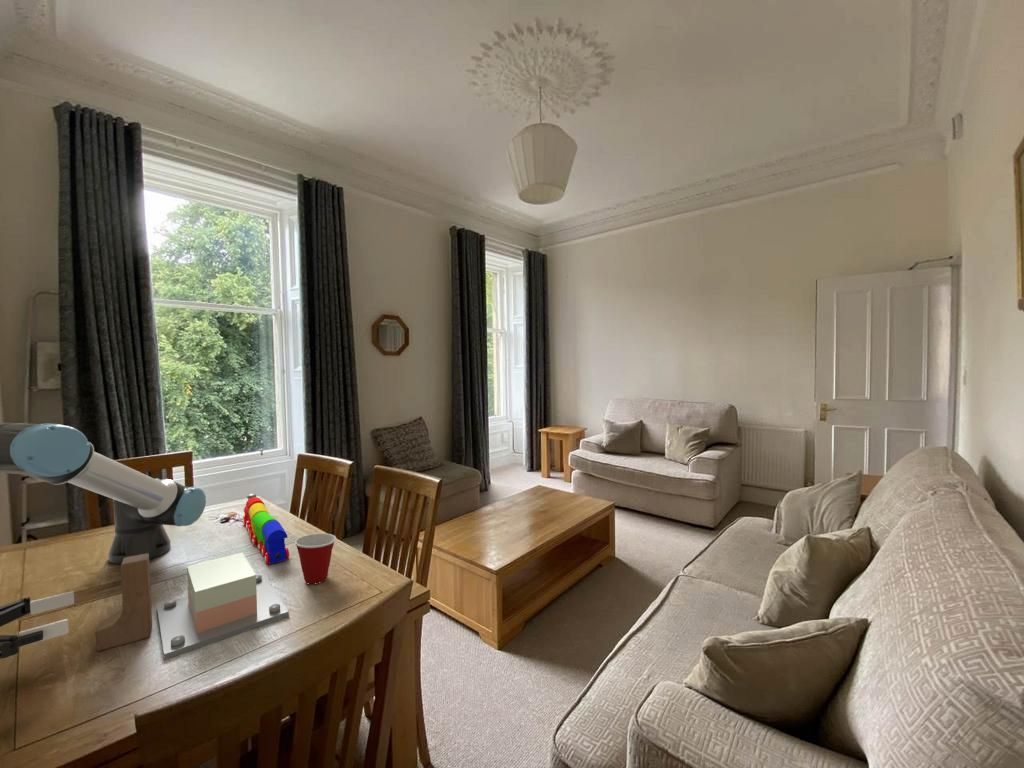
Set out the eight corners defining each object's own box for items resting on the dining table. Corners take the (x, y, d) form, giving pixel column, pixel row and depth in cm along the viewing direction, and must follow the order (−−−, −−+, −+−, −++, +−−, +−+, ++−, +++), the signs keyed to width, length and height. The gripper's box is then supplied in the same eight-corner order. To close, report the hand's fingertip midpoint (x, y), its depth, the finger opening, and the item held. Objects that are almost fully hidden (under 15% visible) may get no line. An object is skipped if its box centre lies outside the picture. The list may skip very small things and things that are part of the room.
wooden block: (96, 652, 95) (91, 570, 93) (100, 641, 98) (96, 562, 97) (150, 637, 100) (146, 559, 99) (152, 627, 103) (149, 552, 102)
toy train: (238, 524, 167) (237, 494, 166) (260, 519, 172) (259, 491, 171) (266, 568, 133) (265, 531, 132) (293, 561, 138) (292, 525, 137)
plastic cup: (345, 575, 129) (344, 534, 128) (314, 593, 119) (313, 549, 118) (318, 567, 133) (317, 528, 132) (286, 583, 123) (285, 541, 123)
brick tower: (157, 609, 110) (155, 567, 110) (264, 578, 126) (263, 541, 126) (164, 659, 92) (162, 609, 92) (288, 616, 108) (287, 573, 108)
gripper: (-73, 641, 88) (76, 602, 102) (-125, 718, 70) (66, 658, 84) (-75, 604, 88) (74, 571, 102) (-129, 673, 69) (64, 620, 83)
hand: (71, 610), depth 93 cm, fingers open, 13 cm apart
